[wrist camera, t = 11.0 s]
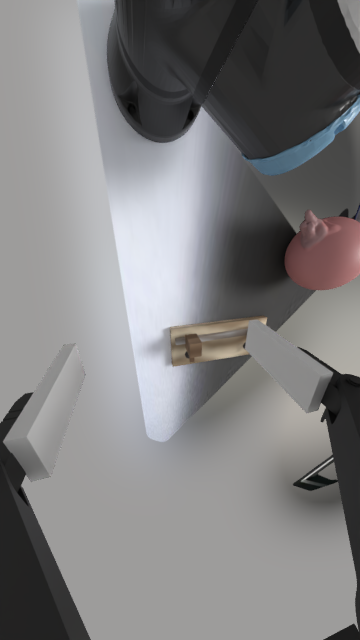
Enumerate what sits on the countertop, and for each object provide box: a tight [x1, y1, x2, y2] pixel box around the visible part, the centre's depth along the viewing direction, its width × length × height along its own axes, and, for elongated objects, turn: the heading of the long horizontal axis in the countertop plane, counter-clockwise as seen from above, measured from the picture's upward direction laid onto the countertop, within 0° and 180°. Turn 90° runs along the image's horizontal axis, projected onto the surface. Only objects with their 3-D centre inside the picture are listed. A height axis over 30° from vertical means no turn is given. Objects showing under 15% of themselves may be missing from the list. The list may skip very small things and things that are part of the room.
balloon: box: [285, 210, 360, 290], centre depth 41 cm, size 15×20×15 cm
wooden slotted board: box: [170, 316, 267, 366], centre depth 52 cm, size 12×28×7 cm, turn 91°
